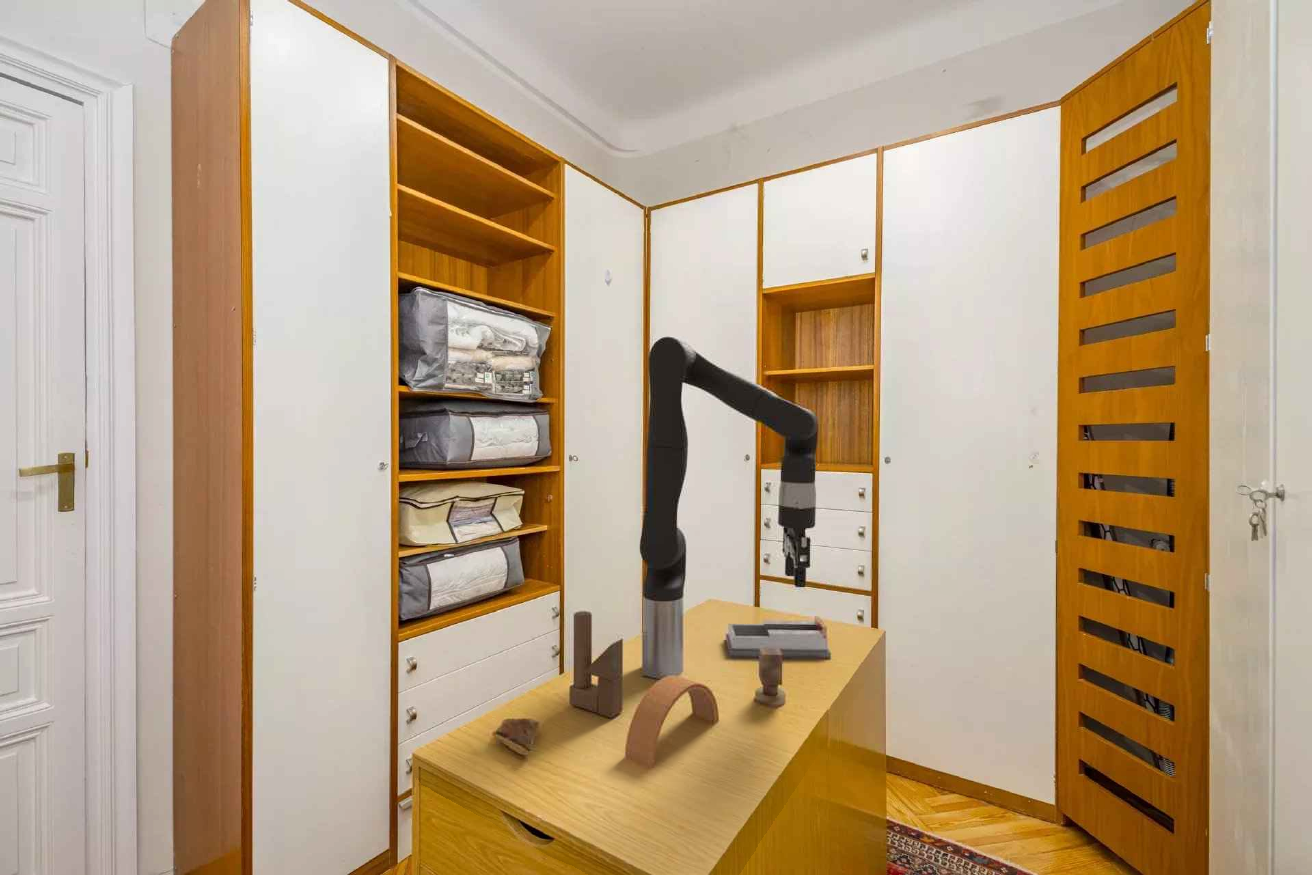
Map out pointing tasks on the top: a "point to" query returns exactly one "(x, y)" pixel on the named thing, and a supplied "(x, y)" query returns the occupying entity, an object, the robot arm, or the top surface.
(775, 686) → the headed peg
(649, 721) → the arch
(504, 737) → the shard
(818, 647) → the track
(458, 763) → the top surface
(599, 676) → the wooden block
